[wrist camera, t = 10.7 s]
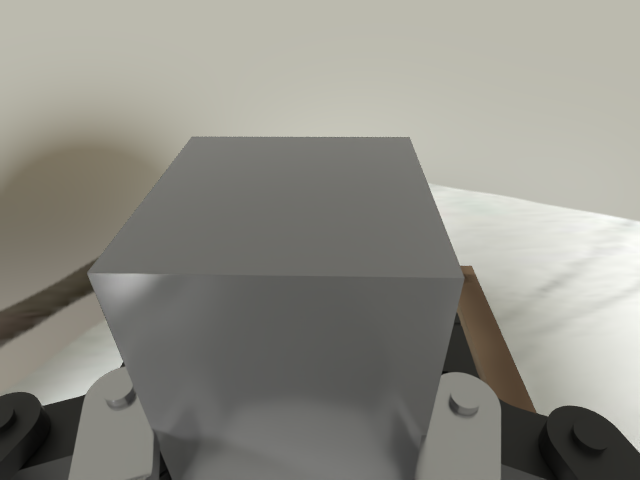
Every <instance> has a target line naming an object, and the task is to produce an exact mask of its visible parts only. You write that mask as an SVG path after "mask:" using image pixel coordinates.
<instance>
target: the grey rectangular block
mask: <svg viewBox="0 0 640 480" xmlns="http://www.w3.org/2000/svg"><path fill="white" fill-rule="evenodd" d="M87 274H88V277H89V279H90V282H91V284H92V287H93V289H94V291H95V294H96V296H97V299H98V301H99V303H100V306H101V308H102V311H103V313H104V315H105V318H106V320H107V323H108V325H109V328H110V330H111V333H112V335H113V337H114V340H115V342H116V345H117V347H118V350H119V352H120V354H121V357H122V359H123V362H124V364H125V367H126V369H127V371H128V374H129V376H130V379H131V381H132V383H133V386H134V388H135V391H136V393H137V396H138V398H139V400H140V403H141V405H142V408H143V410H144V413H145V415H146V417H147V420H148V422H149V425H150V427H151V429H154V430H155V432H156V435H157V437H158V440H159V442H160V451H161V454H162V456H163V459H164V461H165V463H166V466H167V468H168V471H169V473H170V476H171V478H172V480H413V479H414V473H415V467H416V461H417V455H418V449H419V445H420V441H421V436H422V435H427V433H428V429H429V424H430V420H431V416H432V412H433V408H434V404H435V399H436V395H437V391H438V387H439V383H440V379H441V374H442V370H443V366H444V362H445V358H446V354H447V349H448V345H449V341H450V337H451V333H452V329H453V324H454V320H455V316H456V312H457V308H458V303H459V299H460V295H461V291H462V287H463V283H464V275H463V273H462V270H461V268H460V265H459V262H458V260H457V257H456V255H455V252H454V250H453V247H452V245H451V242H450V239H449V237H448V234H447V232H446V229H445V227H444V224H443V222H442V219H441V216H440V214H439V211H438V209H437V206H436V204H435V201H434V199H433V196H432V194H431V191H430V188H429V186H428V183H427V181H426V178H425V176H424V173H423V171H422V168H421V165H420V163H419V160H418V158H417V155H416V153H415V150H414V148H413V145H412V143H411V140H410V138H409V137H191V139H190V140H189V141H188V143H187V144H186V145H185V146H184V148H183V149H182V150H181V152H180V153H179V154H178V156H177V157H176V158H175V160H174V161H173V162H172V163H171V165H170V166H169V167H168V169H167V170H166V171H165V173H164V174H163V175H162V176H161V178H160V179H159V180H158V182H157V183H156V184H155V185H154V187H153V188H152V190H151V191H150V192H149V193H148V194H147V196H146V197H145V198H144V200H143V201H142V202H141V204H140V205H139V206H138V207H137V209H136V210H135V212H134V213H133V214H132V215H131V217H130V218H129V219H128V221H127V222H126V223H125V224H124V226H123V227H122V228H121V230H120V231H119V232H118V233H117V235H116V236H115V237H114V239H113V240H112V241H111V243H110V244H109V245H108V246H107V248H106V249H105V250H104V252H103V253H102V254H101V255H100V257H99V258H98V259H97V261H96V262H95V263H94V265H93V266H92V267H91V268H90V270H89V271H88V272H87Z"/></svg>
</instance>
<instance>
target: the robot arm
mask: <svg viewBox="0 0 640 480" xmlns="http://www.w3.org/2000/svg"><path fill="white" fill-rule="evenodd" d="M0 480H172V478H171V476H170V473H169V471H168V468H167V466H166V463H165V461H164V459H163V456H162V454H161V451H160V442H159V440H158V437H157V435H156V432H155V430H154V429H151V427H150V425H149V422H148V420H147V417H146V415H145V413H144V410H143V408H142V405H141V403H140V400H139V398H138V396H137V393H136V391H135V388H134V386H133V383H132V381H131V379H130V376H129V374H128V371H127V369H126V367H125V364H124V362H123V363H122V365H121V367H120V368H118V369H115V370H113V371H110V372H109V373H107V374H105V375H104V376H102V377H101V378H99V379H98V380H97V381H96V382H95V383H94V384H93V385H92V386H91V387H90V389H89V390H88V392H87V394H86V395H83V396H80V397H76V398H72V399H68V400H64V401H60V402H57V403H53V404H49V405H45V406H42V405H41V403H40V402H39V400H38V399H37V398H36V397H35V396H34V395H32V394H30V393H26V392H16V393H10V394H6V395H3V396H0ZM413 480H640V453H639V452H638V451H637V450H636V449H635V448H634V446H633V445H632V444H631V443H630V442H629V441H628V440H627V439H626V437H625V436H624V435H623V434H622V433H621V432H620V431H619V430H618V429H617V428H616V427H615V426H614V425H613V424H612V423H611V422H610V421H608V420H607V419H606V418H604V417H603V416H601V415H599V414H597V413H596V412H594V411H591V410H589V409H586V408H582V407H578V406H562V407H559V408H557V409H555V410H554V411H552V412H551V414H550V415H549V417H547V416H544V415H540V414H537V413H534V412H531V411H527V410H524V409H521V408H518V407H515V406H512V405H510V404H508V403H506V402H504V401H502V400H501V399H499V398H497V396H496V394H495V393H494V391H493V390H492V389H491V388H490V387H489V386H488V385H487V384H486V383H485V382H483V381H482V380H481V379H480V377H479V375H478V372H477V369H476V366H475V363H474V360H473V357H472V354H471V351H470V348H469V345H468V342H467V339H466V336H465V333H464V330H463V327H462V326H461V321H460V318H459V316H458V313H457V312H456V316H455V320H454V324H453V329H452V333H451V337H450V341H449V345H448V349H447V354H446V358H445V362H444V366H443V370H442V374H441V379H440V383H439V387H438V391H437V395H436V399H435V404H434V408H433V412H432V416H431V420H430V424H429V429H428V433H427V435H422V436H421V441H420V445H419V449H418V455H417V461H416V467H415V473H414V479H413Z"/></svg>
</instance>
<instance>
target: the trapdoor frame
mask: <svg viewBox="0 0 640 480" xmlns="http://www.w3.org/2000/svg"><path fill="white" fill-rule="evenodd" d="M460 268H461V270H462V273H463V275H464V283H463V287H462V291H461V295H460V299H459V303H458V308H457V313H458V316H459V318H460V321H461V326H462V327H463V330H464V333H465V336H466V339H467V342H468V345H469V348H470V351H471V354H472V357H473V360H474V363H475V366H476V369H477V372H478V375H479V377H480V379H481V380H482V381H483V382H485V383H486V384H487V385H488V386H489V387H490V388H491V389H492V390H493V391H494V393H495V394H496V396H497V398H499V399H501V400H502V401H504V402H506V403H508V404H510V405H512V406H515V407H518V408H521V409H524V410H527V411H531V412H534V413H536V410H535V408H534V406H533V404H532V401H531V399H530V397H529V395H528V392H527V390H526V388H525V385H524V383H523V381H522V379H521V376H520V374H519V372H518V370H517V367H516V365H515V363H514V361H513V358H512V356H511V354H510V352H509V349H508V347H507V345H506V343H505V340H504V338H503V336H502V334H501V331H500V329H499V327H498V324H497V322H496V320H495V318H494V315H493V313H492V311H491V309H490V306H489V304H488V302H487V300H486V297H485V295H484V293H483V291H482V288H481V286H480V284H479V282H478V279H477V277H476V275H475V273H474V270H473V268H472V266H460Z"/></svg>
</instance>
